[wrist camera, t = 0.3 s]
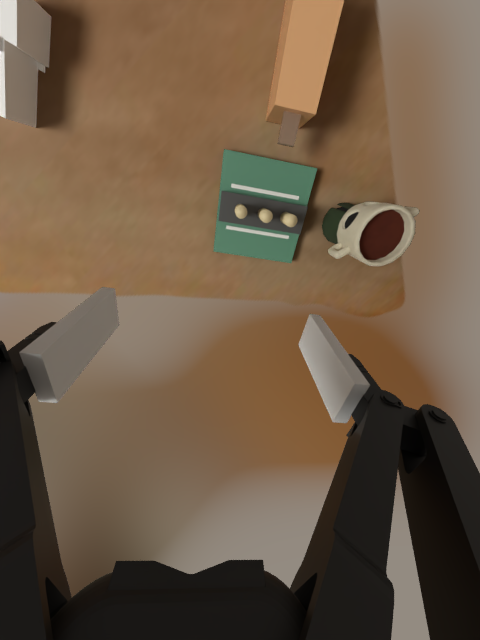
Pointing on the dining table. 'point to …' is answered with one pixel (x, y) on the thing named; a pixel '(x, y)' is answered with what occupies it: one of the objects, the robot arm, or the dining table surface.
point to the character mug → (370, 231)
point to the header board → (264, 180)
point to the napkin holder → (22, 57)
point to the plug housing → (301, 63)
